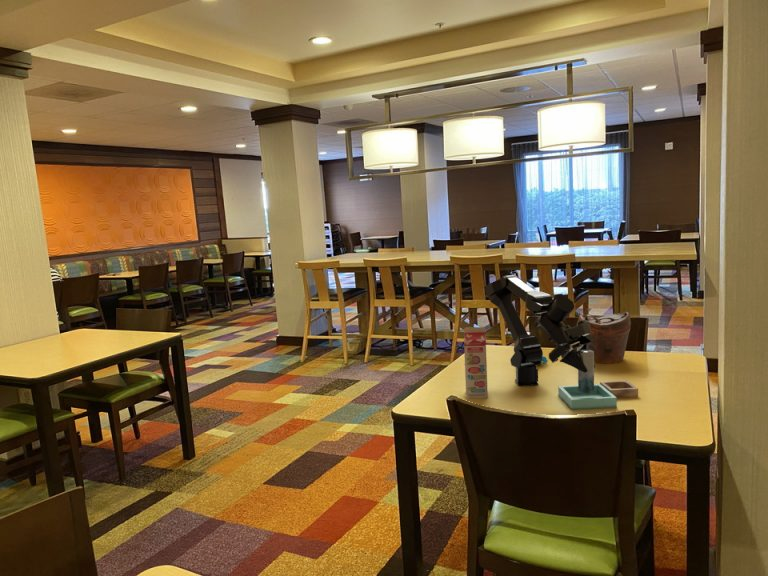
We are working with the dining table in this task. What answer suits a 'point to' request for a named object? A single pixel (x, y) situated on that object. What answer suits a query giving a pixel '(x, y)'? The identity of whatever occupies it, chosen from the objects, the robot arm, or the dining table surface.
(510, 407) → the dining table surface
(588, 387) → the strut
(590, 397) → the bin
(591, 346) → the broken terracotta flower pot
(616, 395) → the collar
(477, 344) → the juice carton
